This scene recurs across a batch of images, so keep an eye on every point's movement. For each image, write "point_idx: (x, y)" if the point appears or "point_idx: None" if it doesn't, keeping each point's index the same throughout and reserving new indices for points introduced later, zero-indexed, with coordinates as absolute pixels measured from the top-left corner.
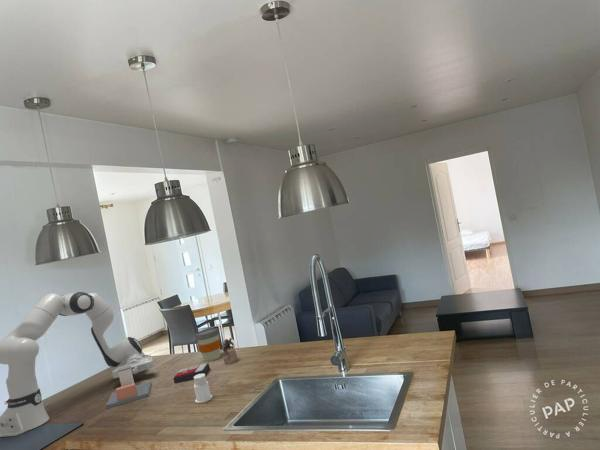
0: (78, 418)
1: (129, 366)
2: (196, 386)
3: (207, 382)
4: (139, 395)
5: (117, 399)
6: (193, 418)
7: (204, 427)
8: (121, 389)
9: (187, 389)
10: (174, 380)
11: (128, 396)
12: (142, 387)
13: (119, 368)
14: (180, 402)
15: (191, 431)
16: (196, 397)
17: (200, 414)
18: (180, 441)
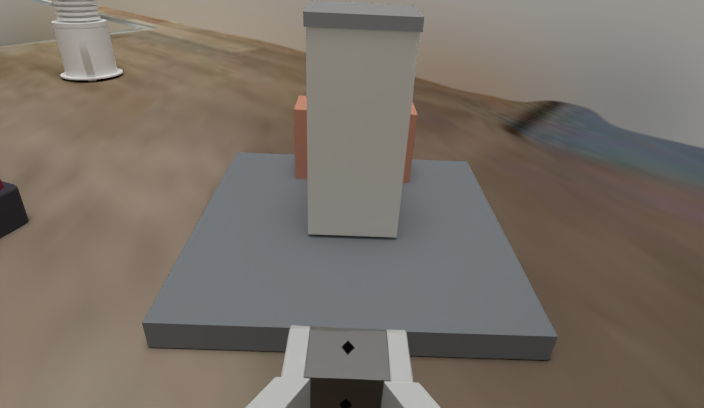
0: (590, 174)
1: (312, 5)
2: (100, 20)
3: (58, 20)
4: (283, 155)
5: (417, 182)
6: (174, 49)
7: (175, 36)
8: None
9: (62, 131)
10: (19, 199)
11: None
12: (252, 237)
13: (415, 14)
14: (154, 88)
15: (200, 37)
16: (114, 58)
17: (153, 51)
18: (227, 33)
